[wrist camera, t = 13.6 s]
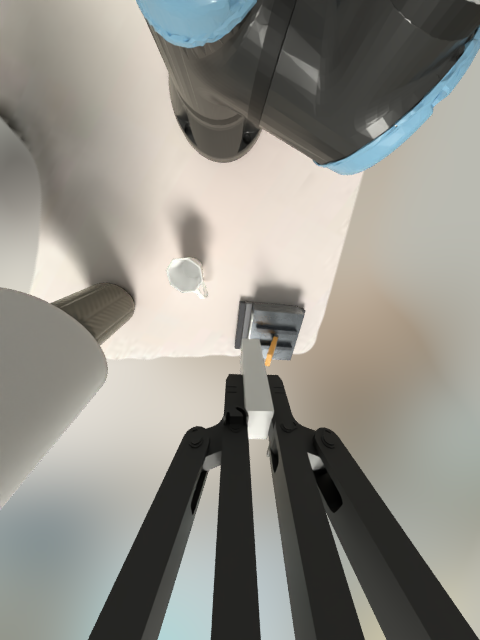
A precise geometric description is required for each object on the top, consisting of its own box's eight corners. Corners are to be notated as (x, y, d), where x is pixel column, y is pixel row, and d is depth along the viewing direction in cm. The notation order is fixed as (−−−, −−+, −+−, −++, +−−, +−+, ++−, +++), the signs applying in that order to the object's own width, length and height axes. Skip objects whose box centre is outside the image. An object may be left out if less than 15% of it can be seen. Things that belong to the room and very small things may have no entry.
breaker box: (251, 302, 45) (254, 312, 40) (297, 306, 46) (306, 316, 41) (245, 346, 52) (246, 360, 46) (285, 349, 53) (291, 363, 47)
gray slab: (240, 301, 45) (240, 303, 44) (251, 302, 45) (252, 304, 44) (234, 345, 51) (234, 348, 50) (245, 346, 52) (245, 349, 50)
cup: (197, 245, 38) (189, 249, 31) (220, 284, 43) (218, 296, 36) (171, 260, 40) (157, 268, 33) (196, 297, 44) (189, 311, 37)
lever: (274, 333, 43) (266, 353, 36) (279, 335, 43) (272, 355, 35) (271, 343, 44) (264, 364, 37) (276, 345, 44) (269, 366, 37)
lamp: (172, 322, 47) (9, 579, 13) (108, 344, 50) (-170, 606, 15) (125, 244, 38) (-911, 420, 4) (49, 276, 41) (-965, 554, 6)
